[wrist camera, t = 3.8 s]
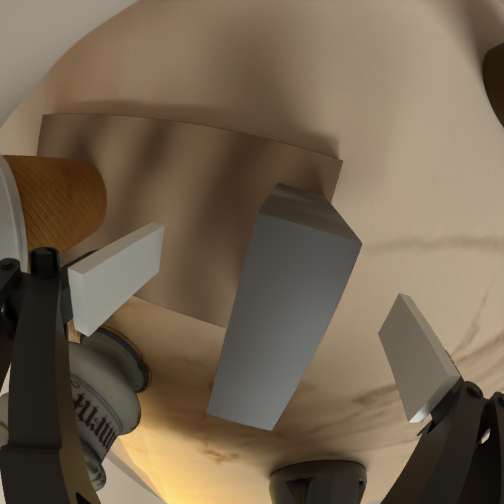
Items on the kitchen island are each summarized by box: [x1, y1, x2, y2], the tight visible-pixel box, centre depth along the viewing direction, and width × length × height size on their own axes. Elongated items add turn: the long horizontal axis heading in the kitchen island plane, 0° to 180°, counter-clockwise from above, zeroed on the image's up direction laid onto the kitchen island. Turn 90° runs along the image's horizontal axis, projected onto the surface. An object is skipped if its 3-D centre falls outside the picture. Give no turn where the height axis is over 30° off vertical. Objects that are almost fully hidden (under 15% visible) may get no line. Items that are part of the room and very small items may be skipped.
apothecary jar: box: [0, 325, 151, 491], centre depth 18 cm, size 12×12×18 cm
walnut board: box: [37, 114, 362, 431], centre depth 15 cm, size 26×14×11 cm, turn 76°
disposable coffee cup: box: [0, 155, 107, 273], centre depth 15 cm, size 10×10×12 cm
